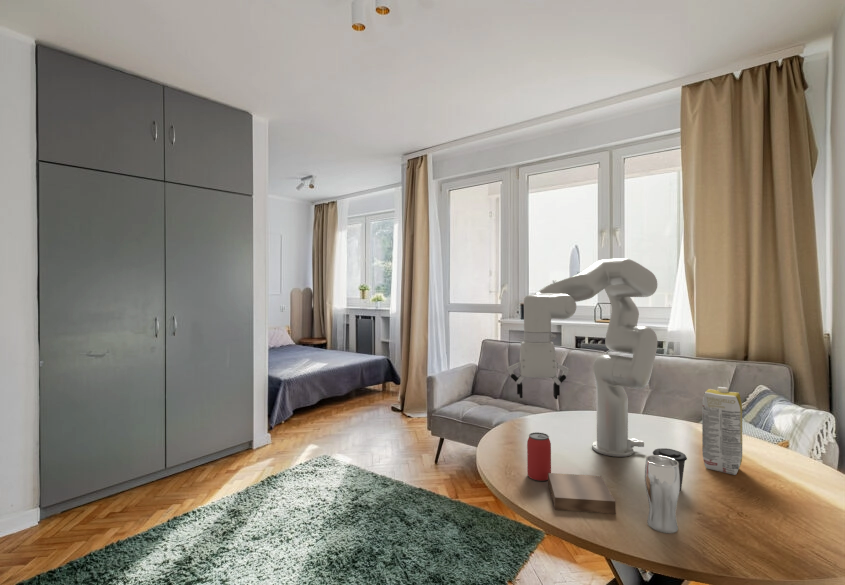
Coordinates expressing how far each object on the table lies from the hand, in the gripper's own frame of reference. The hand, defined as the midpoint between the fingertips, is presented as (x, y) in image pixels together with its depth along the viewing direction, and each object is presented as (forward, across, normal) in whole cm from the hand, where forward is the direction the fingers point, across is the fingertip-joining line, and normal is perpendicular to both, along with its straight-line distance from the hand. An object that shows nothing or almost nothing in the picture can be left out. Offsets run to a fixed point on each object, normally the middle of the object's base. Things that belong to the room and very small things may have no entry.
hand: (538, 397), depth 123 cm
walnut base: (+23, -9, +11) cm, 27 cm away
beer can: (+23, 0, 0) cm, 23 cm away
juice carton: (+23, -54, -13) cm, 60 cm away
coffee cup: (+23, -34, +2) cm, 41 cm away
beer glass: (+23, -25, +22) cm, 41 cm away
